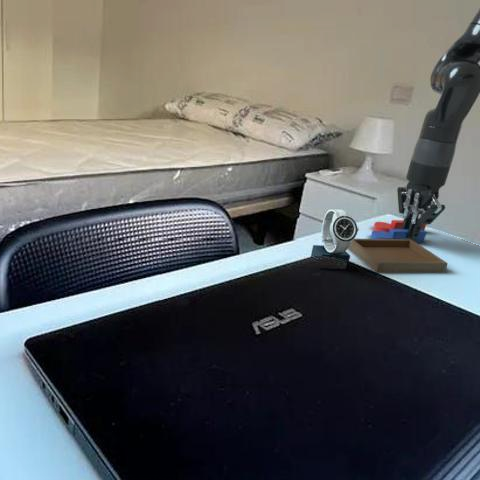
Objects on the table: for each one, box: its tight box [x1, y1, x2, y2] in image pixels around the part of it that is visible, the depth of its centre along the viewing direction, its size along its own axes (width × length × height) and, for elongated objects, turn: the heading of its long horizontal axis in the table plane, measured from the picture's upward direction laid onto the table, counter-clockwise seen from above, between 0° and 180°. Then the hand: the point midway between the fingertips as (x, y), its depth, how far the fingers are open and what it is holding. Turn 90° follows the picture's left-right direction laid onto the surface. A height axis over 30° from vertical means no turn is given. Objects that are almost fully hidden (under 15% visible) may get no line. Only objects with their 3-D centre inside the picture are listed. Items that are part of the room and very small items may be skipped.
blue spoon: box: [369, 229, 427, 243], centre depth 110 cm, size 12×4×3 cm, turn 99°
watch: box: [310, 208, 360, 262], centre depth 94 cm, size 6×8×11 cm
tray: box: [347, 238, 448, 273], centre depth 100 cm, size 15×12×2 cm
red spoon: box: [372, 219, 427, 233], centre depth 116 cm, size 12×4×3 cm, turn 99°
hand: (408, 236), depth 111 cm, fingers closed on blue spoon, 1 cm apart
